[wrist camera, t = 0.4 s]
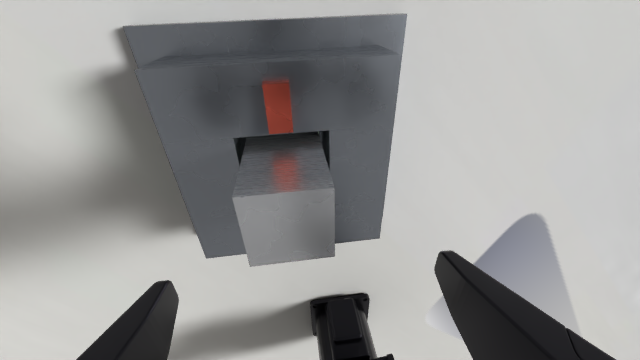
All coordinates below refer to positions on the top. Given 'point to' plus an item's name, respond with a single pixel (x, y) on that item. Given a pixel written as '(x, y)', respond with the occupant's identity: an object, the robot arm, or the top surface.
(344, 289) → the top surface
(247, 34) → the housing
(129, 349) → the robot arm
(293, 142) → the column
